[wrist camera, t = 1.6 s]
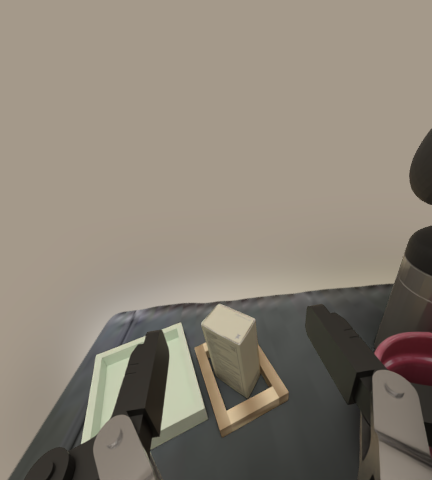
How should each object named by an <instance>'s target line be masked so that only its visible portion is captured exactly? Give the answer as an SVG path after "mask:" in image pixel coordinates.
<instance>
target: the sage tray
mask: <svg viewBox="0 0 432 480" xmlns="http://www.w3.org/2000/svg"><path fill="white" fill-rule="evenodd" d="M162 331H163V333H164V336H165V339H166V342H167V345H168V348H169V367H168V375H167V383H166V391H165V399H164V407H163V415H162V423H161V431H160V437H155V438H152V442H151V448H150V450H151V449H153V448H155V447H157V446H159V445H161V444H163V443H164V442H166V441H168V440H170V439H172V438H174V437H176V436H178V435H179V434H181V433H183V432H185V431H187V430H189V429H191V428H193V427H194V426H196V425H198V424H200V423H202V422H204V421H206V420H208V417H207V413H206V409H205V406H204V402H203V399H202V395H201V392H200V388H199V384H198V381H197V377H196V374H195V370H194V367H193V363H192V359H191V356H190V352H189V349H188V345H187V342H186V338H185V334H184V331H183V328H182V324H181V323H178V324H175V325H173V326H170V327H168V328H165V329H163V330H162ZM145 337H146V336H145ZM145 337H142V338H139V339H137V340H134V341H132V342H129V343H126V344H124V345H121V346H119V347H116V348H114V349H111V350H108V351H106V352H103V353H101V354H98V355H96V360H95V366H94V372H93V377H92V383H91V389H90V395H89V401H88V407H87V413H86V418H85V424H84V430H83V436H82V442H81V444H83V443H84V442H86V441H88V440H90V439H91V438H93V437H94V436H96V435H97V434H98V433H99V431H100V429H101V428H102V427H103V426H104V424H105V423H106V422H107V421H109V420H110V418H111V416H112V413H113V410H114V407H115V404H116V401H117V397H118V394H119V391H120V388H121V384H122V381H123V378H124V376H125V372H126V368H127V367H128V362H129V359H130V355H131V353H132V352H133V350H134V349H135V348H136V346H137V345H138V344H143V343H144V340H145Z"/></svg>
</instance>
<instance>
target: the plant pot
mask: <svg viewBox="0 0 432 480" xmlns="http://www.w3.org/2000/svg"><path fill="white" fill-rule="evenodd" d="M374 354H375V355H376V356H377V358H378V359H379V360H380V361H381V362H382V364H383V365H384V366H385V367H386V368H387V369H388V370H389V371H392V372H395V373H397V374H399V375H400V376H402V377H403V378H405V379H406V380H407V381H408V382H411V383H415V384H421V385H427V386H432V333H430V332H405V333H399V334H396V335H393V336H390V337H388V338H387V339H385V340H384V341H383V342H382V343H381V344H379V346H378V347H377V349H376V350H375V352H374ZM429 451H430V455H431V458H432V449H431V447H429Z"/></svg>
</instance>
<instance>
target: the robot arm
mask: <svg viewBox="0 0 432 480" xmlns="http://www.w3.org/2000/svg"><path fill="white" fill-rule="evenodd" d="M409 177H410V184H411V188H412V190H413V192H414V193H415V195H416V196H417V197H418V198H420V199H421V200H422V201H424V202H426V203H428V204H431V205H432V129H431V130H430V131H429V133H428V134H427V136H426V137H425V138H424V140H423V141H422V143H421V145H420V146H419V148H418V150H417V151H416V153H415V156H414V158H413V161H412V164H411V168H410V174H409ZM305 328H306V332H307V335H308V337H309V339H310V341H311V342H312V344H313V346H314V348H315V349H316V351H317V353H318V355H319V356H320V358H321V360H322V361H323V363H324V365H325V367H326V368H327V370H328V372H329V374H330V375H331V377H332V379H333V380H334V382H335V384H336V386H337V387H338V389H339V391H340V393H341V394H342V396H343V398H344V399H345V401H346V403H347V405H349V404H354V403H356V404H357V405H358V407H359V409H360V410H361V411H360V461H359V471H358V478H357V480H432V458H431V455H430V451H429V447H431V449H432V386H427V385H421V384H415V383H411V382H408V381H407V380H406V379H405V378H403V377H402V376H400V375H399V374H397V373H395V372H392V371H389V370H388V369H387V368H386V367H385V366H384V365H383V364H382V362H381V361H380V360H379V359H378V358H377V356H376V355H375V354H374V353H373V352H372V351H371V349H370V348H369V347H368V346H367V345H366V343H365V342H364V341H363V340H362V339H361V338H360V337H359V335H358V334H357V333H356V332H355V330H353V328H352V327H351V326H350V325H349V323H348V322H347V321H346V320H345V319H344V318H342V317H341V316H339V315H338V314H336V313H330V312H329V311H328V310H327V308H326V307H325V306H324V305H323V304H319V305H313V306H308V307H307V313H306V324H305ZM405 332H430V333H432V226H429V227H425V228H423V229H420V230H418V231H417V232H415V233H414V234H413V235H412V236H411V238H410V239H409V242H408V244H407V248H406V250H405V253H404V256H403V259H402V262H401V265H400V268H399V271H398V274H397V277H396V280H395V283H394V286H393V289H392V292H391V295H390V298H389V300H388V303H387V306H386V309H385V312H384V315H383V318H382V321H381V324H380V327H379V330H378V333H377V336H376V339H375V342H374V347H375V350H376V349H377V347H378V346H379V344H381V343H382V342H383V341H384V340H385V339H387V338H388V337H390V336H393V335H396V334H399V333H405ZM168 367H169V348H168V345H167V342H166V339H165V336H164V333H163V331H162V330H156V331H150V332H147V334H146V337H145V340H144V343H143V344H138V345H137V346H136V348H135V349H134V350H133V352H132V353H131V355H130V359H129V362H128V367H127V368H126V372H125V376H124V378H123V381H122V384H121V388H120V391H119V394H118V397H117V401H116V404H115V407H114V410H113V413H112V416H111V418H110V420H109V421H107V422H106V423H105V424H104V426H103V427H102V428H101V429H100V431H99V433H98V434H97V435H96V436H94V437H93V438H91V439H90V440H88V441H86V442H84V443H83V444H81V445H79V446H77V447H75V448H74V449H72V450H70V451H67V450H66V449H65V448H62V447H58V448H54V449H52V450H50V451H48V452H47V453H45V454H44V455H43V456H42V457H41V458H40V459H38V460H37V462H36V463H35V464H34V465H33V466H32V468H31V469H30V470H29V472H28V474H27V475H26V477H25V479H24V480H163V479H162V477H161V475H160V473H159V470H158V468H157V466H156V464H155V462H154V459H153V457H152V455H151V453H150V448H151V442H152V438H155V437H160V431H161V423H162V415H163V407H164V399H165V391H166V383H167V375H168Z"/></svg>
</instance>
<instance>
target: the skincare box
mask: <svg viewBox="0 0 432 480" xmlns="http://www.w3.org/2000/svg"><path fill="white" fill-rule="evenodd" d="M201 326H202V329H203V333H204V336H205V340H206V343H207V347H208V351H209V354H210V358H211V361H212V365H213V368H214V372H215V375H216V377H218V378H219V379H220V380H222V381H223V382H224V383H226V384H227V385H229V386H230V387H231V388H233V389H234V390H236V391H237V392H238V393H240V394H241V395H243V396H244V397H246V398H249V396H250V394H251V393H252V391H253V389H254V387H255V385H256V383H257V381H258V379H259V376H260V374H261V370H260V360H259V350H258V340H257V331H256V322H255V319H254V318H252V317H250V316H248V315H245V314H243V313H241V312H238V311H236V310H234V309H231V308H229V307H226V306H224V305H222V304H218V305H217V306H216V307H215V308H214V309H213V310H212V311H211V313H210V314H209V315H208V316H207V317H206V318H205V319H204V320H203V322H202V323H201Z"/></svg>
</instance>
